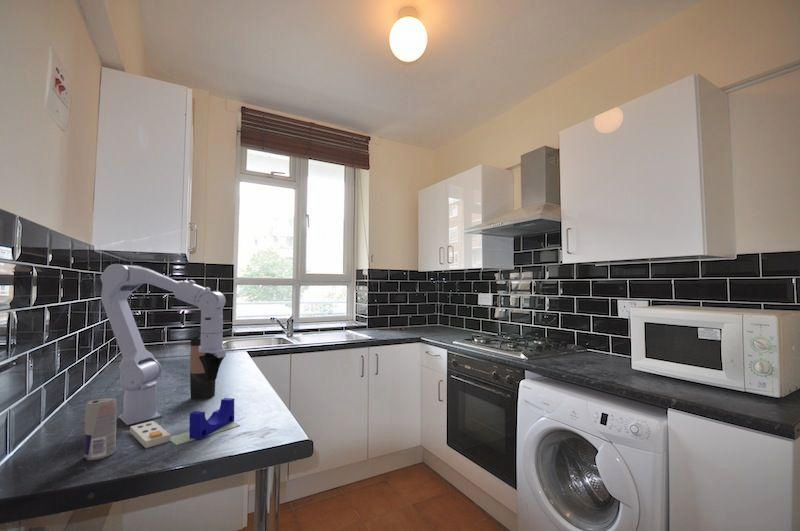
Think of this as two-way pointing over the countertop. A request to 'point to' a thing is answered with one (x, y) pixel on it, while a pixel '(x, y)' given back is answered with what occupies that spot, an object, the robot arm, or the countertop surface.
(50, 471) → the countertop surface
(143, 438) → the power strip
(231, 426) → the mat
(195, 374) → the travel mug
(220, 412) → the cable clip
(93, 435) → the energy drink
